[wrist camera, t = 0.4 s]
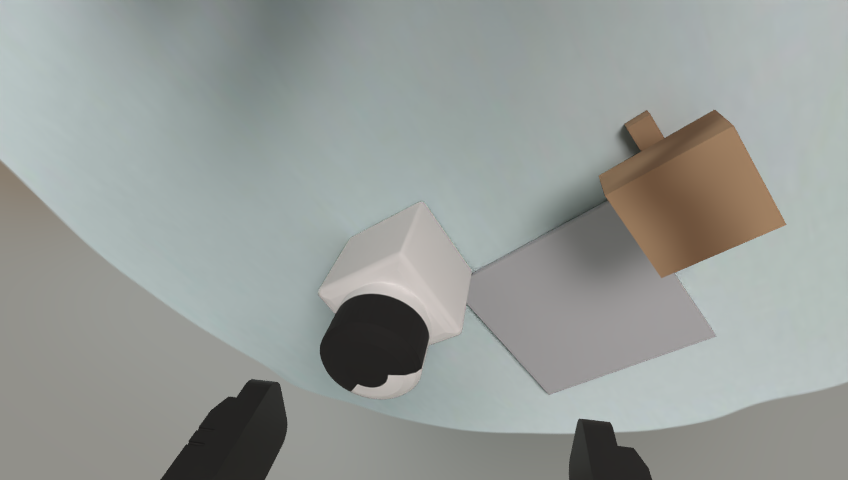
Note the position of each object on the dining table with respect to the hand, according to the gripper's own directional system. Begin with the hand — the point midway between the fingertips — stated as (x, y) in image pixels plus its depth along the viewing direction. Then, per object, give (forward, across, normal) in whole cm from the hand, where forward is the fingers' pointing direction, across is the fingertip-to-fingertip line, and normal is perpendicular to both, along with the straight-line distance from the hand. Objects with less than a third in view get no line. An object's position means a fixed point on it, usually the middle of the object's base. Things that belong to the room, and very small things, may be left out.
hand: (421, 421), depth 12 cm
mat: (+22, -9, +11) cm, 26 cm away
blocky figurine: (+22, +4, +7) cm, 24 cm away
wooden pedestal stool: (+21, -12, -2) cm, 24 cm away
